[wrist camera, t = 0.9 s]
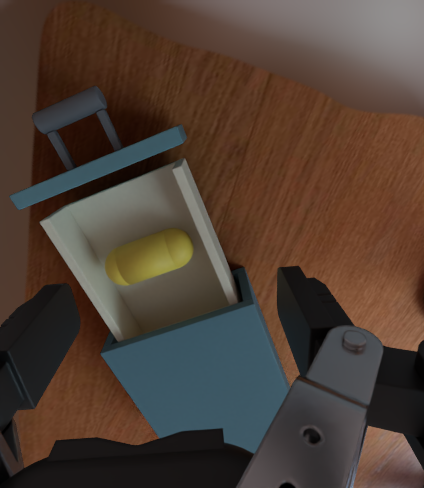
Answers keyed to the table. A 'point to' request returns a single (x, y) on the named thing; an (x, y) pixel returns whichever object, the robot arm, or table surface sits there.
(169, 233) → the yellow rounded capsule
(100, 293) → the drawer
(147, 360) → the cabinet
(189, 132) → the table surface
